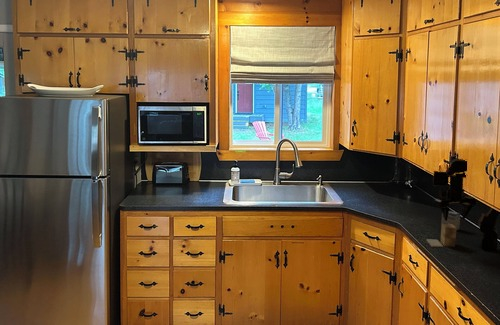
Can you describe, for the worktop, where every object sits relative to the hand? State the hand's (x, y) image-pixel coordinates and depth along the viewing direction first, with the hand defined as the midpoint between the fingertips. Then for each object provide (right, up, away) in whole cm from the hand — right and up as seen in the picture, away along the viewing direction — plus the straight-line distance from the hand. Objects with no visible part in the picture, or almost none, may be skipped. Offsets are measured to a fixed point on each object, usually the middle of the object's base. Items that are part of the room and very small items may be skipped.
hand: (454, 219), depth 260 cm
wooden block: (-2, -12, +3) cm, 13 cm away
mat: (-8, -12, +4) cm, 15 cm away
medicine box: (+8, -8, +30) cm, 32 cm away
